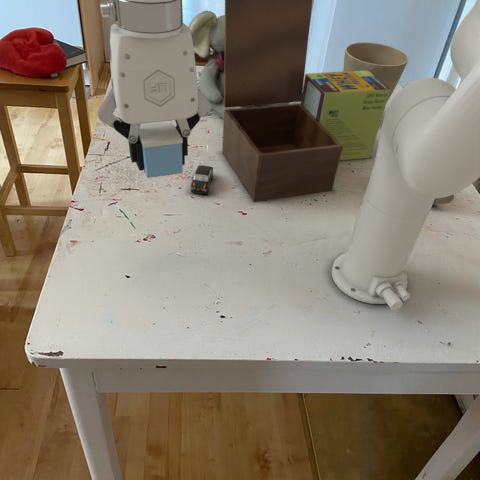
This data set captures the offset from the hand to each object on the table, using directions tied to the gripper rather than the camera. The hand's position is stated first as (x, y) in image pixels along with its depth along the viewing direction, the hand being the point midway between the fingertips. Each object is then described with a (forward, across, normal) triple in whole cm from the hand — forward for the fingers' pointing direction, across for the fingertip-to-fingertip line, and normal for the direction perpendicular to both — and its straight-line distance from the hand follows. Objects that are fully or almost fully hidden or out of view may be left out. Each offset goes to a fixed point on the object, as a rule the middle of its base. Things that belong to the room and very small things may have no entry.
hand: (159, 161), depth 66 cm
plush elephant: (+18, +32, +57) cm, 68 cm away
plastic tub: (+1, 0, 0) cm, 1 cm away
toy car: (+18, +14, +23) cm, 32 cm away
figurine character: (+19, +54, +6) cm, 57 cm away
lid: (-2, +30, +33) cm, 45 cm away
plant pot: (+19, +62, +41) cm, 77 cm away
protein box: (+19, +47, +28) cm, 58 cm away
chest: (+18, +30, +23) cm, 42 cm away
